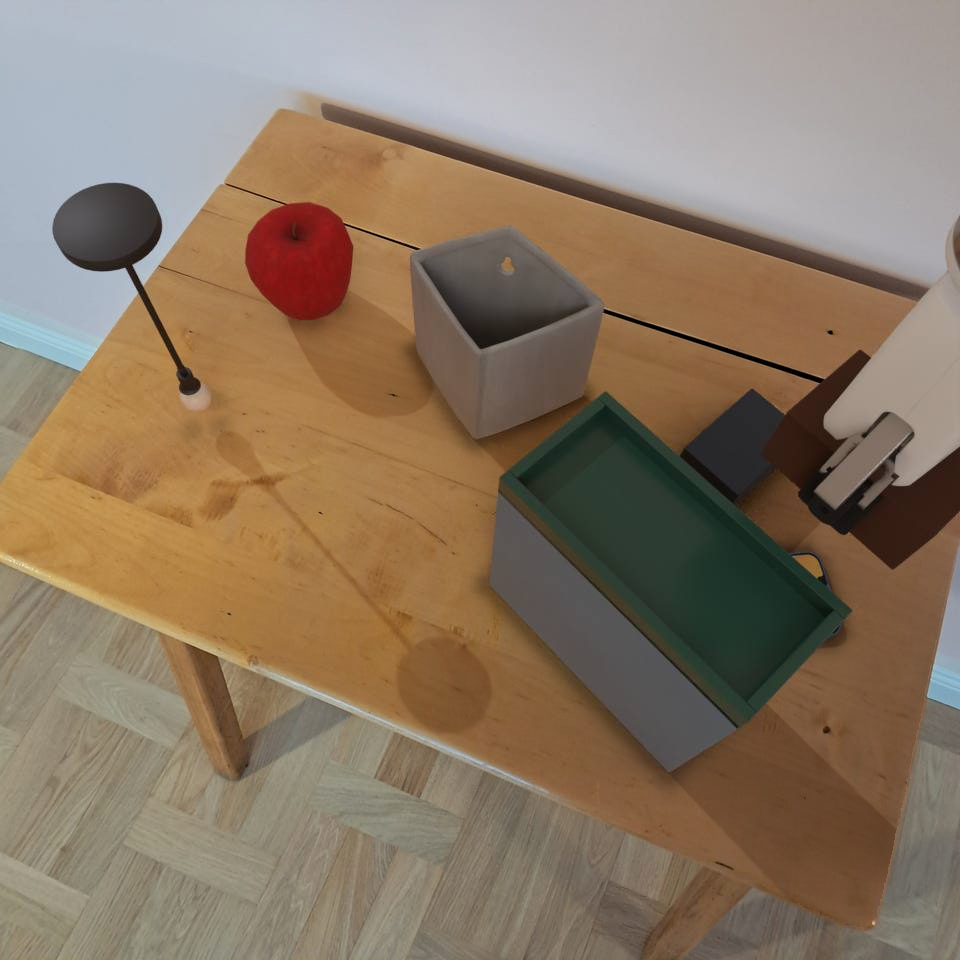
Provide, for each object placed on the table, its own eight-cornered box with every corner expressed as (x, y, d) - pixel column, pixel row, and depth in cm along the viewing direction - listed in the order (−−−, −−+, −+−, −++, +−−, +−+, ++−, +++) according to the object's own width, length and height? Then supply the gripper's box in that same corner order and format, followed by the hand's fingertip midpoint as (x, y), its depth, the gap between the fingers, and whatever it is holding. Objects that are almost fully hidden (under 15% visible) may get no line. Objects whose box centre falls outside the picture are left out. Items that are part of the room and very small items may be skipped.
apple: (316, 245, 88) (298, 163, 78) (382, 299, 85) (372, 220, 75) (239, 302, 84) (211, 223, 75) (305, 360, 82) (284, 285, 72)
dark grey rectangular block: (788, 456, 78) (806, 432, 74) (723, 517, 75) (738, 495, 71) (737, 413, 80) (752, 387, 76) (671, 471, 77) (683, 447, 73)
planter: (389, 416, 79) (370, 277, 62) (418, 347, 83) (407, 197, 65) (562, 464, 77) (592, 336, 60) (584, 391, 81) (618, 250, 63)
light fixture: (176, 457, 77) (59, 272, 54) (161, 396, 79) (45, 196, 57) (250, 436, 78) (166, 246, 55) (234, 376, 81) (148, 172, 58)
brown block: (828, 394, 50) (860, 348, 46) (960, 502, 47) (1007, 463, 43) (759, 454, 48) (786, 411, 44) (892, 571, 45) (934, 537, 41)
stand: (750, 688, 69) (839, 620, 53) (668, 773, 66) (737, 729, 50) (570, 514, 75) (601, 406, 59) (488, 584, 72) (497, 491, 56)
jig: (839, 620, 53) (853, 610, 51) (737, 729, 50) (748, 722, 48) (601, 406, 59) (605, 390, 57) (497, 491, 56) (498, 476, 54)
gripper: (1107, 81, 35) (901, 346, 51) (836, 306, 29) (702, 523, 45) (1288, 189, 32) (1011, 431, 48) (1028, 456, 27) (815, 628, 43)
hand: (863, 474), depth 47 cm, fingers closed on brown block, 6 cm apart
